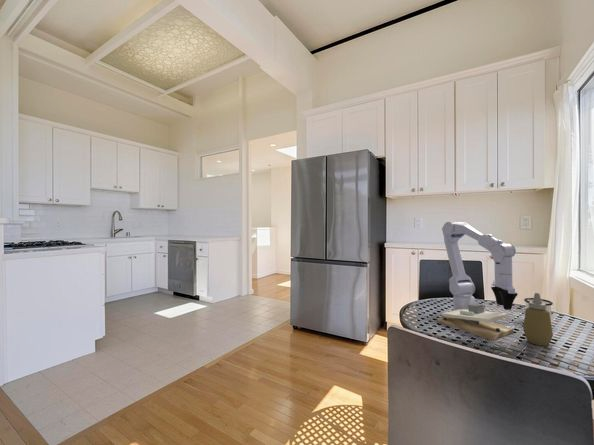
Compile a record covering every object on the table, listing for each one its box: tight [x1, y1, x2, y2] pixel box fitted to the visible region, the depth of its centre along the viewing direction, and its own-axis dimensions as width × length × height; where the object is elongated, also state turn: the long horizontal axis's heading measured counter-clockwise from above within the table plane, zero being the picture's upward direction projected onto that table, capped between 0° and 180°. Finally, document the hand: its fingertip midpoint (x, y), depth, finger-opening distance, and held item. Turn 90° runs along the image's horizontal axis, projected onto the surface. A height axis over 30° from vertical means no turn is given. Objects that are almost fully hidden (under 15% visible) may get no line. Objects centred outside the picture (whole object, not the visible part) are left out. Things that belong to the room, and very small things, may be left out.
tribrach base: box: [437, 316, 514, 341], centre depth 116 cm, size 15×22×4 cm
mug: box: [523, 297, 554, 320], centre depth 120 cm, size 12×10×9 cm
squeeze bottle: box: [522, 292, 554, 347], centre depth 100 cm, size 8×8×18 cm
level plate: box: [440, 303, 510, 323], centre depth 116 cm, size 13×20×4 cm, turn 26°
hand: (503, 307), depth 111 cm, fingers open, 6 cm apart
